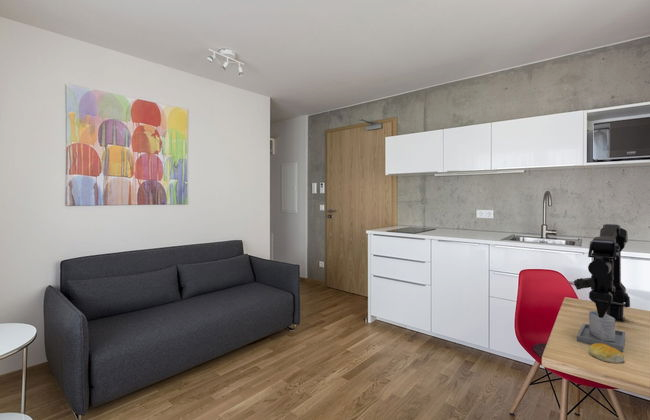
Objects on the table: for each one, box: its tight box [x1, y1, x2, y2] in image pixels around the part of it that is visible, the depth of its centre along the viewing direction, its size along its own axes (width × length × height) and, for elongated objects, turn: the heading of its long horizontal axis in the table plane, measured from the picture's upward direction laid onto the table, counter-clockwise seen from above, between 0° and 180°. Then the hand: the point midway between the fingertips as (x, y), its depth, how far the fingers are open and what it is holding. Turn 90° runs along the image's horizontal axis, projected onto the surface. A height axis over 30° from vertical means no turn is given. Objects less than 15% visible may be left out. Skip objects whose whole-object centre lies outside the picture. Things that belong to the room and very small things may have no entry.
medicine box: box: [588, 310, 616, 342], centre depth 122 cm, size 8×4×9 cm, turn 168°
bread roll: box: [588, 343, 625, 364], centre depth 108 cm, size 8×9×4 cm
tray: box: [576, 323, 626, 353], centre depth 122 cm, size 18×13×2 cm
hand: (601, 314), depth 122 cm, fingers open, 9 cm apart
